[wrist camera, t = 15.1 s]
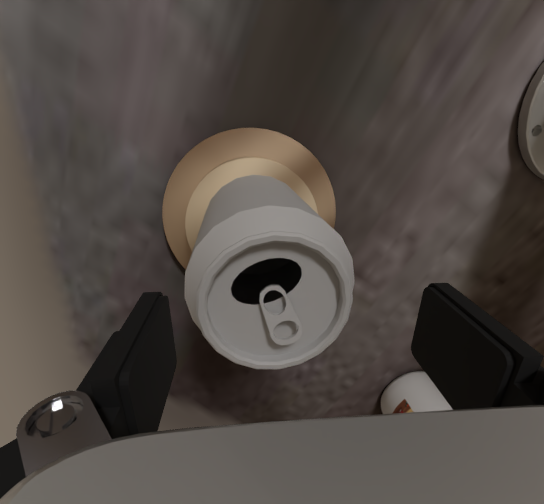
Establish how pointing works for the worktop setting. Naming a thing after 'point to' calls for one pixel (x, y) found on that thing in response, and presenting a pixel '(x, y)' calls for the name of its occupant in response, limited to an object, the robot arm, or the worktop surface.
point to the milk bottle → (412, 395)
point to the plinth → (234, 164)
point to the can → (267, 276)
